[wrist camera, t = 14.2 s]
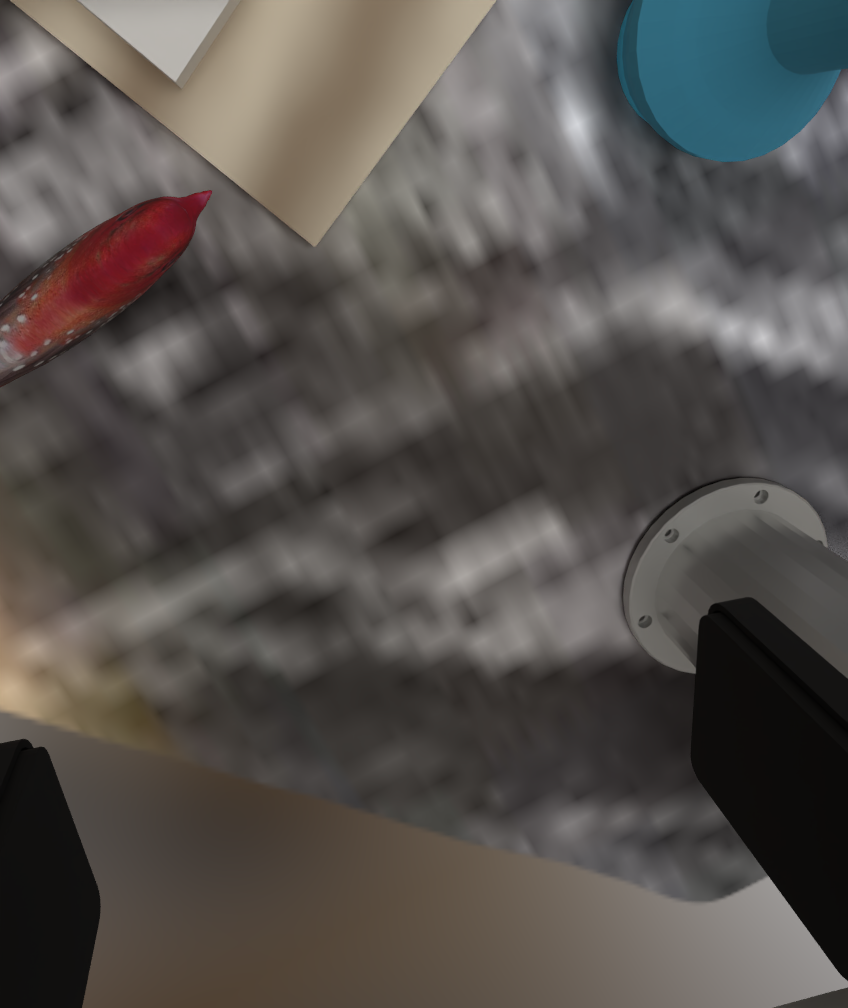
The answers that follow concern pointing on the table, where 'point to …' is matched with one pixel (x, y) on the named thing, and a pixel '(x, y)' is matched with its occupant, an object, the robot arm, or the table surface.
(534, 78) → the table surface
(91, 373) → the table surface
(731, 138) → the perfume bottle
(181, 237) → the decorative bird figurine
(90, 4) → the block
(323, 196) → the board
